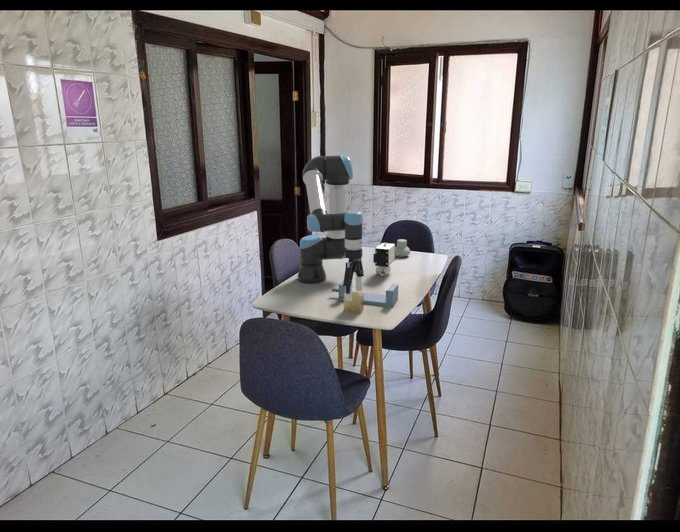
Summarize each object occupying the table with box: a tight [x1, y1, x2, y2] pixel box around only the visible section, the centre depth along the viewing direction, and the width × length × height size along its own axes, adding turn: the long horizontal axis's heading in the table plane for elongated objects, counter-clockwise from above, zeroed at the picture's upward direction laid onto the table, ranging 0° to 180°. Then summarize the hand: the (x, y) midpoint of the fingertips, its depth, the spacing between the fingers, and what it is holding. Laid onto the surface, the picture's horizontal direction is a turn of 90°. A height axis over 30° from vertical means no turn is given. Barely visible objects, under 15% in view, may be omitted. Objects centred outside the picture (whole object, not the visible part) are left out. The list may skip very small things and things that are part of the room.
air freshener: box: [395, 238, 411, 258], centre depth 302 cm, size 11×8×10 cm
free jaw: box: [331, 279, 353, 298], centre depth 232 cm, size 9×10×6 cm
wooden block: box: [343, 291, 365, 314], centre depth 215 cm, size 8×4×8 cm, turn 69°
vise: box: [338, 283, 399, 308], centre depth 228 cm, size 26×10×8 cm, turn 69°
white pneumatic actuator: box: [373, 242, 396, 277], centre depth 264 cm, size 18×8×18 cm, turn 159°
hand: (353, 295), depth 214 cm, fingers open, 13 cm apart
